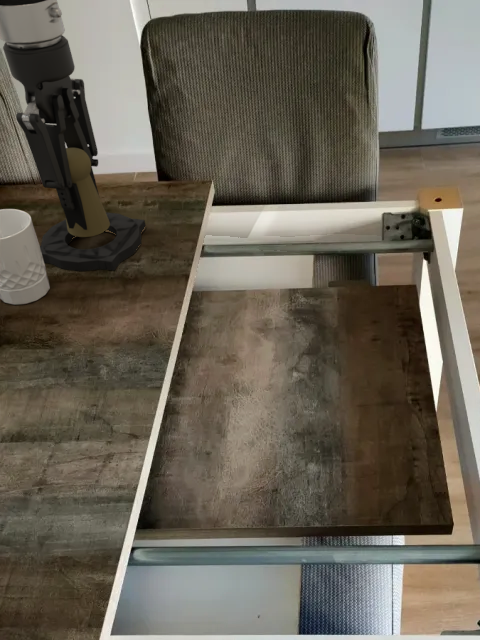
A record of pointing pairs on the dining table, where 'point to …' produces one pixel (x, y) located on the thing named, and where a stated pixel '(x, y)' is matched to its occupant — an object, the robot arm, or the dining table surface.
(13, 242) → the white cup
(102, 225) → the olive pawn
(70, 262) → the base pad
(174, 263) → the dining table surface
